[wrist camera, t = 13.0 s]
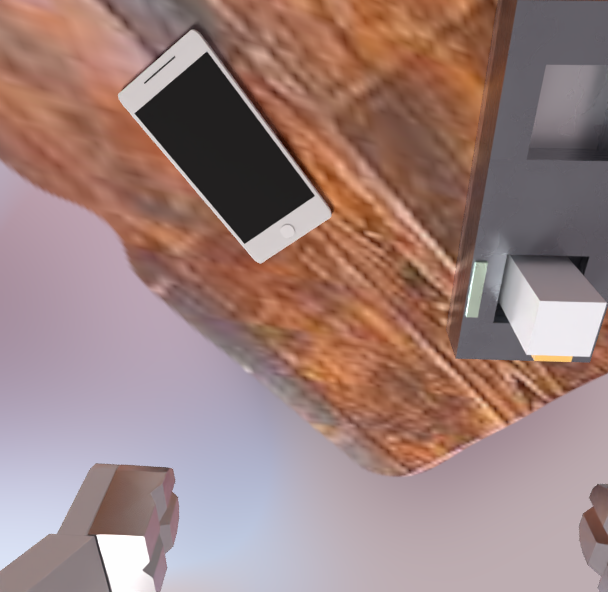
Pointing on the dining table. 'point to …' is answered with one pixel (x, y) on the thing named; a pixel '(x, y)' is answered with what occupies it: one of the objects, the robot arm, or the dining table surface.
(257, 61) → the dining table surface
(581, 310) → the plug
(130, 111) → the smartphone
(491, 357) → the panel
